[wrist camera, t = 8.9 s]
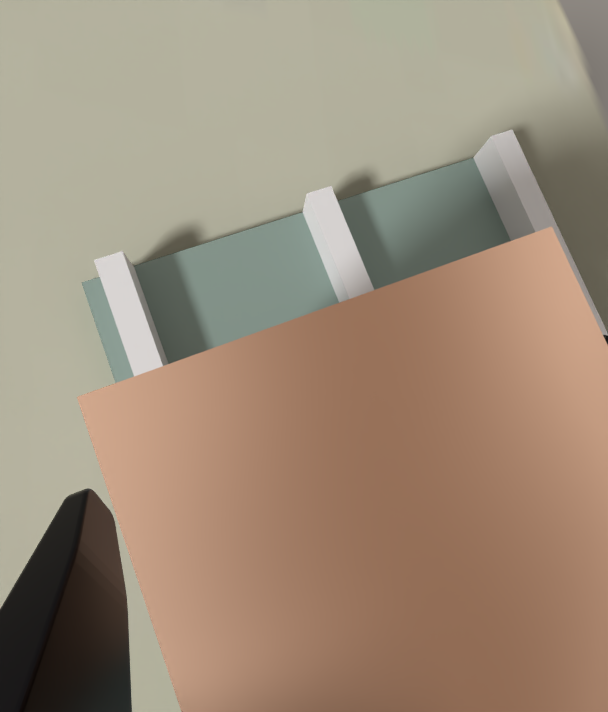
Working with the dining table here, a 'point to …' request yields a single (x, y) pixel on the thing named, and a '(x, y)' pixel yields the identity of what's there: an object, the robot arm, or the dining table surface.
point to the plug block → (379, 499)
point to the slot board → (315, 259)
